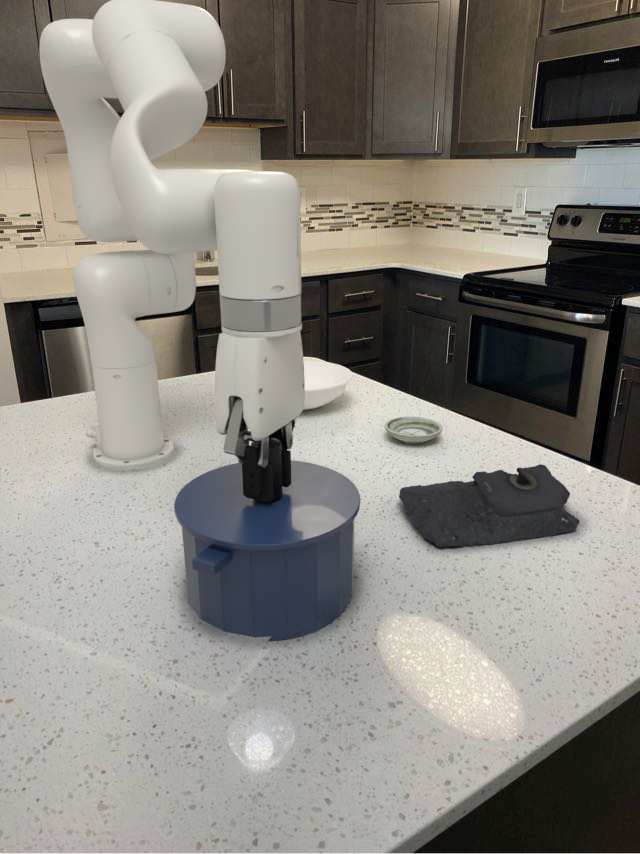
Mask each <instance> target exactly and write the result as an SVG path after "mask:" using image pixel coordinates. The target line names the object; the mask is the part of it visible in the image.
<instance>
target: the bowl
mask: <svg viewBox="0 0 640 854" xmlns="http://www.w3.org/2000/svg"><path fill="white" fill-rule="evenodd" d="M303 361H304V379H305V398H304V408H303V410H302V411H306V410H313V409H317V408H320V407H322V406H325V405H327V404H329V403H331V402H332V401H334V400H335V399H337V398H338V397H339V396H342V395H343V394H344V393H345V390H346V388H347V385H348V383H350V382H351V381H352V379H353V377H354V375H353V372H352V370H351V369H349V368H347V367H345V366H343V365H341V364H338V363H333V362H327V361H321V360H305V359H303Z"/></svg>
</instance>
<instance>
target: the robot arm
mask: <svg viewBox="0 0 640 854" xmlns="http://www.w3.org/2000/svg"><path fill="white" fill-rule="evenodd" d="M225 43H226V42H225V39H224V34H223V32H222V30H221V27H220V25H219V24H218V22H217V21H216V19H215V18H214V17H213V15H212V14H211V13H209V12H208V11H207V10H206V9H204V8H202V7H200V6H197V5H192V4H186V3H179V2H171V1H164V0H109V1H107V2H105V3H104V4H103V5H102V6H100V7H99V9H98V10H97V11H96V13H95V15H94V16H93V19H91V18H62V19H58V20H55V21H52V22H50V23H48V24H47V25H46V26H45V27H44V28H43V30H42V32H41V34H40V38H39V48H38V49H39V63H40V69H41V74H42V78H43V81H44V85H45V88H46V92H47V93H48V97H49V99H50V101H51V103H52V104H51V105H52V107H53V108H54V111H55V113H56V116H57V117H58V119H59V123H60V125H61V128H62V131H63V135H64V139H65V143H66V150H67V160H68V166H69V174H70V184H71V189H72V195H73V196H72V197H73V204H74V210H75V211H74V212H75V216H76V220H77V224H78V227H79V230H80V231H81V233H82V235H83V236H84V237H85V238H87V239H88V240H91V241H93V242H99V243H117V242H118V243H119V242H124V243H125V242H140V243H141V245H143V246H144V247H145V248H146V249H139V250H132V249H131V250H119V251H106V252H98V253H95V254H90V255H88V256H86V257H84V258H82V259H81V260H80V261H78V263H77V264H76V266H75V268H74V270H73V274H72V281H73V287H74V293H75V295H76V299H77V302H78V305H79V310H80V313H81V316H82V319H83V320H82V321H83V323H84V328H85V333H86V337H87V344H88V350H89V351H88V352H89V359H90V364H91V371H92V379H93V386H94V394H95V401H96V410H97V418H98V420H93V421H92V422H91V423H90V426H89V428H87V429H86V431H85V436H86V437H87V438H91V439H92V438H93V439H96V446H95V447H94V449H93V451H92V459H93V461H94V462H96V463H97V464H98V465H100V466H103V467H108V468H114V469H115V468H116V469H134V468H141V467H146V466H149V465H150V466H151V465H154V464H157V463H159V462H162V461H164V460H166V459H168V458H169V457H170V456H172V454H173V453H174V451H175V443H174V442H173V440H172V439H170V438H168V437H166V436H164V429H163V419H162V417H163V416H162V407H161V399H160V387H159V386H160V385H159V375H158V366H157V365H158V364H157V358H156V357H157V355H156V347H155V345H154V342H153V340H152V339H151V337H150V335H148V333H146V331H145V330H143V328H141V326H139V325H138V324H137V322H136V319H137V318H142V317H145V316H153V315H161V314H162V315H163V314H170V313H176V312H182V311H185V310H187V309H189V308H190V307H191V306H192V305H193V303H194V301H195V297H196V291H197V278H196V277H197V276H196V261H195V253H200V252H215V251H216V254H217V272H218V290H219V291H218V292H219V305H220V306H219V308H220V324H221V332H220V333H219V334H218V339H217V345H216V353H215V355H216V356H215V369H214V410H215V411H214V412H215V413H214V415H215V416H214V417H215V427H216V428H215V429H216V432H217V433H218V434H219V435H221V436H225V438H224V439H225V440H224V444H223V453H224V454H228V455H232V456H235V457H236V458H237V461H238V463H242V478H243V495H244V496H245V497H246V498H250V499H255V500H259V501H263V502H268V503H269V502H270V501H272V500H273V473H272V464H268V447H269V438H275V439H278V440H280V441H281V451H282V487H288V486H290V485H291V460H292V451H291V449H292V448H293V445H294V436H293V431H294V429H295V427H296V422H297V420H298V418H299V416H300V415H301V414H302V412H303V411H304V410H303V408H304V398H305V379H304V361H303V360H304V351H303V342H302V341H303V340H302V335H301V331H302V330H303V307H302V304H303V303H302V246H301V245H302V241H301V239H302V235H301V233H302V232H301V221H302V220H301V191H300V190H301V189H300V185H299V182H298V181H297V179H296V178H295V177H294V176H293V175H292V174H290V173H288V172H284V171H271V170H269V171H268V170H250V169H241V168H240V169H239V168H232V169H231V168H225V169H224V168H157V167H156V166H155V165H154V164H153V163H152V162H151V161H152V160H154V159H156V158H159V157H161V156H163V155H165V154H167V153H169V152H171V151H174V150H175V149H178V148H179V147H181V146H183V145H185V144H187V143H188V142H190V141H191V140H192V139H193V138H194V137H195V136H196V135H197V134H198V133H199V132H200V130H201V129H202V127H203V125H204V124H205V121H206V119H207V114H208V106H209V105H208V98H207V95H206V94H207V93H206V92H207V91H209V90H211V89H213V87H215V86H217V84H218V83H219V82H220V80H221V78H222V76H223V74H224V71H225V67H226V61H227V60H226V59H227V57H226V56H227V51H226V44H225ZM106 99H118V101H119V104H120V105H121V107H122V109H123V111H124V112H123V114H122V115H121V116H120V115H119V114H118V113H117V111H116V110H115V109H114V107H113V106H111V104H110V103H109V102H108V101H107V100H106ZM250 442H258V450H257V449H256V448H255V447H254V446H251V444H250Z"/></svg>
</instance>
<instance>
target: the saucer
mask: <svg viewBox="0 0 640 854" xmlns="http://www.w3.org/2000/svg"><path fill="white" fill-rule="evenodd" d="M384 430H385V431H386V432H387V433H388V434H390V436H392V437H394V438H395V439H396V440H398V441H400V442H402V443H405V444H410V445H420V444H424V443H426V442H427V441H430V440H433V439H435V438H436V437H437V436H438V435H440V434H441V433H442V431H443V425H442V424H441V423H440V422H438V421H437V420H434V419H431V418H427V417H422V416H412V415H411V416H410V415H409V416H398V417H394V418H392V419H389V420H387V421H386V422H385V423H384Z"/></svg>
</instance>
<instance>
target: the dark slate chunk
mask: <svg viewBox="0 0 640 854" xmlns="http://www.w3.org/2000/svg"><path fill="white" fill-rule="evenodd" d="M516 472H517V473H510V472H507V471H504V470H503V469H497V470H494V471H491V472H487V471H475V473H474V474H473V475H472V479H473V480H472V481H471V480H470V481H466V482H465V481H463V480H449V481H445V482H440V483H439V482H438V483H431V484H427V485H421V484H417V485H409V486H404V487H402V488H401V487H400V489H399V494H398V498H399V501H401V503H402V505H403V508H404V510H405V511H406V512H407V513H408V514H409V516H410V517H411V520H412V522H413V524H414V526H415V527H416V528H417V529H418V530H419V532H420V533H421V534H422V536H423V538H425V539H427V540H428V541H429V542H430V543H433V544H435V545H436V546H437V547H459V548H464V547H474V546H482V545H495V544H498V543H501V544H503V543H510V542H516V541H523V540H524V541H525V540H530V539H537V538H541V537H543V538H544V537H548V536H556V535H557V536H558V535H561V534H567V533H571V532H574V531H575V530H576V529H577V528H578V524H579V523H580V522H581V521H580V518H577V517H575V515H573V514H571V513H570V512H569V511H567V510H566V509H564V506H565V505H567V502H568V500H569V498H570V495H571V492H570V491H569V490H568V488H567V487H566V486H565V484H564V483H562V482H561V481H560V480H558V479H557V478H556V477H555V476H554V475H553V474H552V472H551V471H550V470H549V468H548V466H546V465H545V464H537V465H533V466H528V467H517V468H516Z"/></svg>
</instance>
